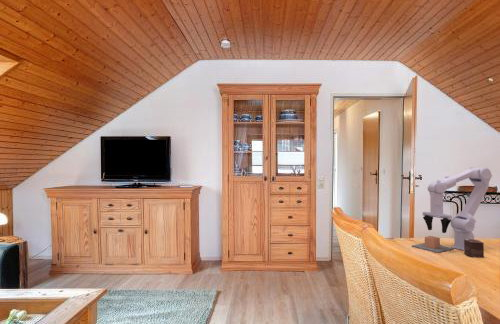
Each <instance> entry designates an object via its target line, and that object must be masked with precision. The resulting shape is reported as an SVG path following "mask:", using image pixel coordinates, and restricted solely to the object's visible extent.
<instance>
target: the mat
mask: <svg viewBox="0 0 500 324" xmlns="http://www.w3.org/2000/svg"><path fill="white" fill-rule="evenodd" d="M412 246H413V247H412ZM411 247H412V248H416V249H420V250H424V251H428V252H432V253H436V254H440V253H444V252H449V251H452V250H455V248H452V247H451V246H450V247H449V246H446V245H441V244H440V247H439V248H434V249H433V248H429V247H425V242H424V243H423V242H422V243H418V244H413V245H411Z"/></svg>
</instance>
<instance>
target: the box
mask: <svg viewBox="0 0 500 324" xmlns="http://www.w3.org/2000/svg"><path fill="white" fill-rule="evenodd" d="M484 245H485V244H484V242H483V241H481V240H479V239H474V240H472V239H464V250H463V251H464V255H466V256H468V257H470V258H484V255H485V253H484V251H485V249H484V247H485V246H484Z"/></svg>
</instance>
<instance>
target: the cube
mask: <svg viewBox="0 0 500 324" xmlns="http://www.w3.org/2000/svg"><path fill="white" fill-rule="evenodd" d="M424 243H425V247H429V248H433V249H434V248H439V247H440V245H441V238H440V237H438V236H431V235H428V236H425V237H424Z"/></svg>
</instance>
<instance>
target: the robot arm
mask: <svg viewBox="0 0 500 324" xmlns="http://www.w3.org/2000/svg"><path fill="white" fill-rule="evenodd" d="M492 177H493V175H492V172H491V170H490V168H488V167H469V168H466V169H465V170H464V171H461V172H460V173H458V174H455V175H454V176H451V175H445V176H444V178H441V179H438V180H436V182H435V181H432V182H430V183H429V184H428V186H427V191H428V193H429V197H430V198H429V201H430V202H429V203H430V204H429V206H430V209H429V210H430V211H422V216H423V217H422V219H423V220H424V222H425V224H426V226H427V230H428V231H432V230H433V220H434V218H436V219H437V218H438V219H440V223H441V232H442V234H445V233H447V230H448V227H449V225H451V226H450V227H451V228H453V235H454V236H453V239H454V241H453V242H454V245H451V246H450V247H451V248H454V249H457V250H461V251H464V239H472V240H475V235H474V233H473V231H474V229H475V225H476V222H477V221H476V219H475V217H474V216H475V214H476V213H477V210H478V208H479V206H480V205H481V204H482V203H481V202H482V201H483V199H484V197H485V195H486V193H487V191H488V189H489V185H490V181H491V179H492ZM467 179H469V181H470V182H471V184H472V185H473V186H474V188H472V191H471V193H470V194H469V197H468V199H467V201H466V203H465V204H464V207H463V209H462V210H461V211H460V212H457V213H456V215H455V216H454V217H453V215H451V214H445V213H444V194H445V192H446V191H447V190H449V189H452V188H454V187H456V186H457V183H459V182H462V181H465V180H467Z"/></svg>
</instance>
